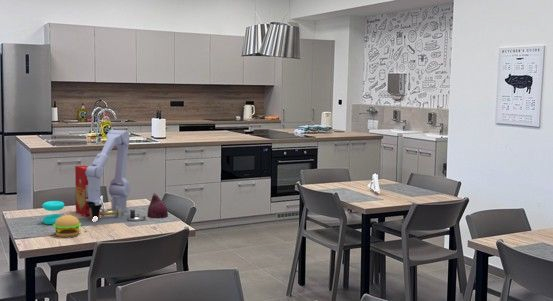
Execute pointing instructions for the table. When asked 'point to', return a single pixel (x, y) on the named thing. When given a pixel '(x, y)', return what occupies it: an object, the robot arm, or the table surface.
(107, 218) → the board
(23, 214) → the table surface
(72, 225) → the hamburger
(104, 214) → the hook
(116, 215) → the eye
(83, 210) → the food packaging
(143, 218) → the handwheel
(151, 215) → the vegetable
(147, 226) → the table surface
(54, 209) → the cyan stacked discs
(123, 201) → the robot arm
